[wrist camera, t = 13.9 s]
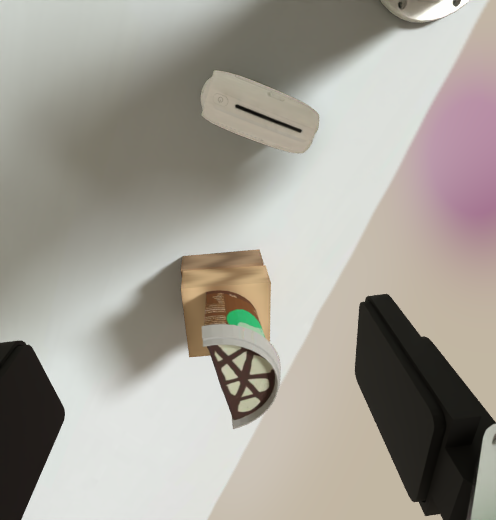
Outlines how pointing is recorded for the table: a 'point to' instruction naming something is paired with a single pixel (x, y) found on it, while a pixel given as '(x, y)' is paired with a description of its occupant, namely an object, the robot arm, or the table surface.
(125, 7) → the table surface
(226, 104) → the photo printer
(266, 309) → the oak slab
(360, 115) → the table surface
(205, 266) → the tan cardboard flat block
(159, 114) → the table surface
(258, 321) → the food container
